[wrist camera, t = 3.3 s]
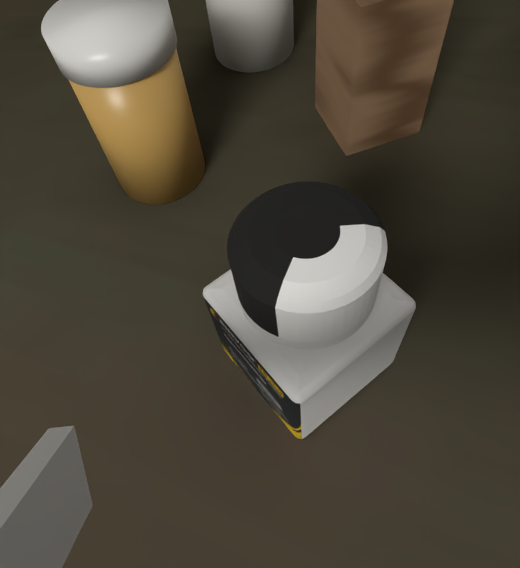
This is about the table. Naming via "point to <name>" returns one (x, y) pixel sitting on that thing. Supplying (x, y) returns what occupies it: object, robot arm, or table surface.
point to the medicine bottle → (308, 300)
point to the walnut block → (376, 67)
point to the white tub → (251, 33)
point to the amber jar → (130, 91)
